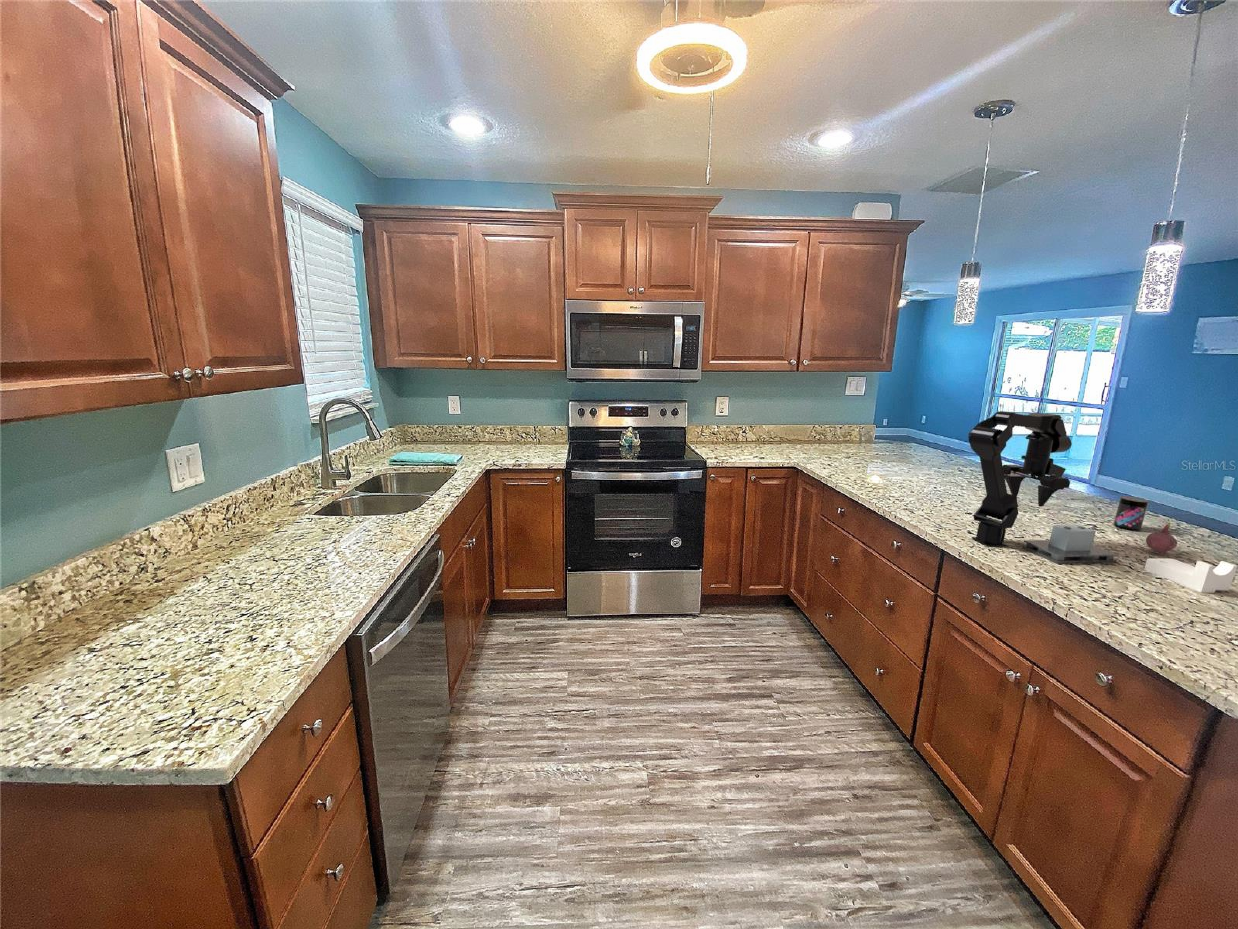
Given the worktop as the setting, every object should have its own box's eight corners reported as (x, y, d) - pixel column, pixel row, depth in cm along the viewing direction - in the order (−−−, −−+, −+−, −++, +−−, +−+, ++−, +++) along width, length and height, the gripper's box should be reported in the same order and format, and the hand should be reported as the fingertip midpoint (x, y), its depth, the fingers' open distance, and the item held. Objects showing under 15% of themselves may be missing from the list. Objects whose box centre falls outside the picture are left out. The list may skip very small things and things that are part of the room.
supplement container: (1107, 525, 167) (1114, 496, 165) (1122, 524, 168) (1130, 495, 166) (1130, 532, 161) (1138, 502, 158) (1146, 531, 162) (1154, 501, 159)
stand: (1056, 563, 135) (1058, 555, 135) (1022, 548, 146) (1024, 540, 145) (1115, 562, 136) (1117, 554, 136) (1077, 547, 147) (1079, 539, 146)
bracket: (1227, 593, 120) (1237, 565, 118) (1200, 593, 120) (1209, 565, 118) (1168, 570, 133) (1176, 545, 131) (1144, 570, 132) (1151, 544, 131)
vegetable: (1167, 559, 139) (1177, 527, 137) (1138, 551, 145) (1147, 520, 142) (1176, 556, 142) (1186, 524, 139) (1147, 548, 147) (1156, 517, 145)
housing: (1090, 550, 138) (1096, 530, 137) (1065, 550, 138) (1070, 530, 136) (1073, 543, 143) (1078, 524, 142) (1048, 544, 143) (1053, 524, 141)
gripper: (1093, 460, 140) (1080, 511, 143) (1034, 447, 158) (1024, 493, 161) (1057, 460, 139) (1045, 511, 142) (1003, 447, 157) (993, 493, 161)
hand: (1027, 501), depth 152 cm, fingers open, 9 cm apart
